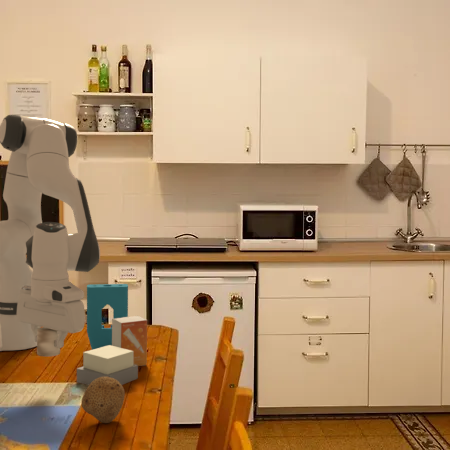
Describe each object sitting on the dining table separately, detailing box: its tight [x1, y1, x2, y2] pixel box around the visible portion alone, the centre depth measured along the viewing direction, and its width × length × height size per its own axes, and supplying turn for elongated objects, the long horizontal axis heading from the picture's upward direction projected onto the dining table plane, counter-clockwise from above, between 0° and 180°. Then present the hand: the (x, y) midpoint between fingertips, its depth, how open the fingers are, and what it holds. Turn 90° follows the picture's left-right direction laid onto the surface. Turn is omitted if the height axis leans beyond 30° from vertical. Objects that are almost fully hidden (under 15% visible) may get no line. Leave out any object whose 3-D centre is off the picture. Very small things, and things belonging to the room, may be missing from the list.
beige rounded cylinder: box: [36, 326, 61, 358], centre depth 156 cm, size 6×6×6 cm
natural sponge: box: [81, 377, 126, 424], centre depth 136 cm, size 9×9×10 cm
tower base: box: [76, 364, 139, 386], centre depth 164 cm, size 11×11×4 cm
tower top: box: [82, 345, 134, 374], centre depth 164 cm, size 9×9×4 cm
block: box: [86, 283, 129, 350], centre depth 191 cm, size 12×5×20 cm, turn 101°
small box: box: [111, 315, 148, 367], centre depth 178 cm, size 8×6×13 cm
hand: (48, 344), depth 157 cm, fingers closed on beige rounded cylinder, 5 cm apart
